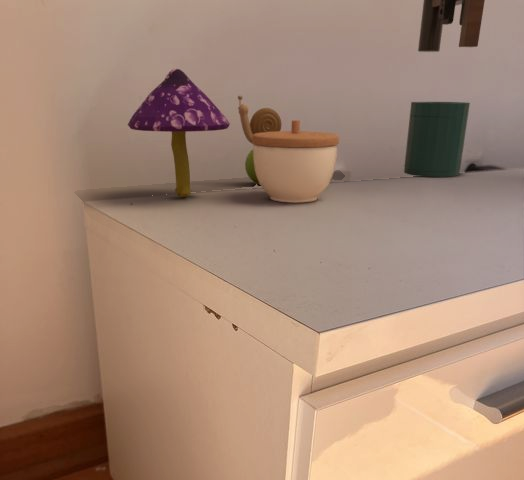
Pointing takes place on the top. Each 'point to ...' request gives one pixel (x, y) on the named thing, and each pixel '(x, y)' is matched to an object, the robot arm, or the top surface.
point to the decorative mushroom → (178, 119)
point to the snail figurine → (257, 130)
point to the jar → (436, 138)
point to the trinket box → (294, 163)
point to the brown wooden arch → (433, 26)
